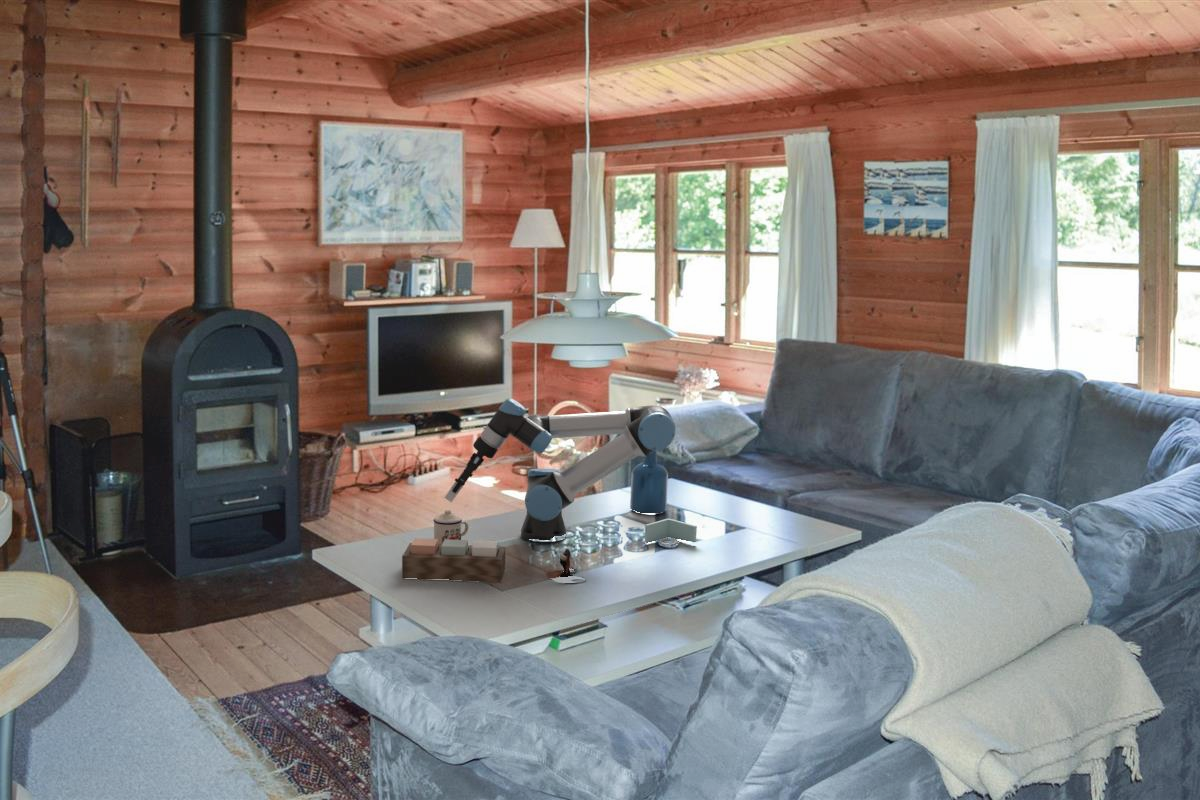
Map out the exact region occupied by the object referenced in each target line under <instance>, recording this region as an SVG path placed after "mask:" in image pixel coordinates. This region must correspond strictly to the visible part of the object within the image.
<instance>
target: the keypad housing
mask: <svg viewBox="0 0 1200 800" xmlns="http://www.w3.org/2000/svg"><path fill="white" fill-rule="evenodd" d="M411 544H412V542H409V544H408V546H407V548H406V549H405V551H404V553H403V554H402V556H401V558H402V559H401V579H402V578H417V579H449V580H462V581H461V582H468V581H479V582H478V583H499V584H501V583H502V580H503V577H504V574H505V570H506V546H503V545H502V546H501V545H498V555H497V557H488V556H472V546H473V544H468V553H467V555H466V556H461V555H441V546H442V544H438V551H437V553H436V555H434V554H411Z"/></svg>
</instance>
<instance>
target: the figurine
mask: <svg viewBox="0 0 1200 800" xmlns="http://www.w3.org/2000/svg"><path fill="white" fill-rule="evenodd" d="M571 556H572V553H571V551H570V549H569V548H565V550H564V552H561V553H560V554H559V564H560V565H561V566H562V568H563V569H562V570H560V569H559V570H553V571H549V572H547V573H546V576H547V579H549V578H556V577H559V576H560V577H568V576H573V574H572V573H570V571H571V569H569V568H572V569H574V571H576V572H577V571H578V569H576V568H574V567H572V566H571V558H572V557H571ZM563 571H564V572H563Z"/></svg>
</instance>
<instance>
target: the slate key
mask: <svg viewBox="0 0 1200 800" xmlns="http://www.w3.org/2000/svg"><path fill="white" fill-rule="evenodd" d="M468 545H469V540H468V539H461V540H450V539H445V540H444V542H443V544H442V546H441V555H461V556H466V555H467V553H468Z"/></svg>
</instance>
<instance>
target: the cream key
mask: <svg viewBox="0 0 1200 800" xmlns="http://www.w3.org/2000/svg"><path fill="white" fill-rule="evenodd" d="M472 545H473V546H472V556H488V557H497V555H498V546H499V541H498V540H496V541H495V540H475V539H474V541H473V543H472Z"/></svg>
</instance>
